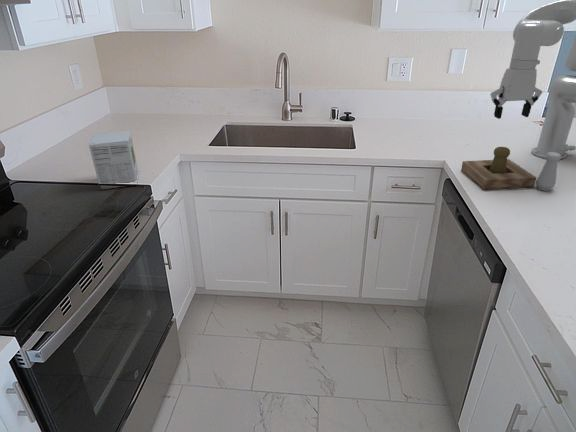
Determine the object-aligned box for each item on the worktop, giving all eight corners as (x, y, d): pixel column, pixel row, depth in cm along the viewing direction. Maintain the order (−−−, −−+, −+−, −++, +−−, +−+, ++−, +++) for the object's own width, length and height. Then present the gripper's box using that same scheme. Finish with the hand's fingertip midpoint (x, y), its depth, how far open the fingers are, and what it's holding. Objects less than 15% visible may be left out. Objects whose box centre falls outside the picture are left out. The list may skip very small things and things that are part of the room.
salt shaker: (547, 185, 147) (557, 150, 141) (557, 192, 142) (568, 155, 135) (531, 185, 147) (540, 150, 140) (540, 192, 142) (550, 156, 135)
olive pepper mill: (486, 178, 151) (493, 149, 146) (487, 172, 156) (494, 144, 150) (505, 180, 148) (512, 151, 143) (505, 174, 153) (512, 146, 148)
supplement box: (137, 186, 154) (128, 140, 146) (99, 191, 151) (87, 144, 143) (139, 173, 165) (130, 130, 157) (104, 177, 162) (93, 133, 154)
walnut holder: (506, 168, 161) (508, 159, 159) (533, 188, 145) (536, 177, 143) (460, 171, 160) (462, 161, 158) (483, 190, 144) (485, 179, 142)
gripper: (541, 61, 139) (529, 112, 147) (491, 64, 138) (481, 115, 146) (556, 65, 132) (542, 118, 140) (503, 67, 131) (492, 121, 139)
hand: (511, 116), depth 143 cm, fingers open, 9 cm apart
